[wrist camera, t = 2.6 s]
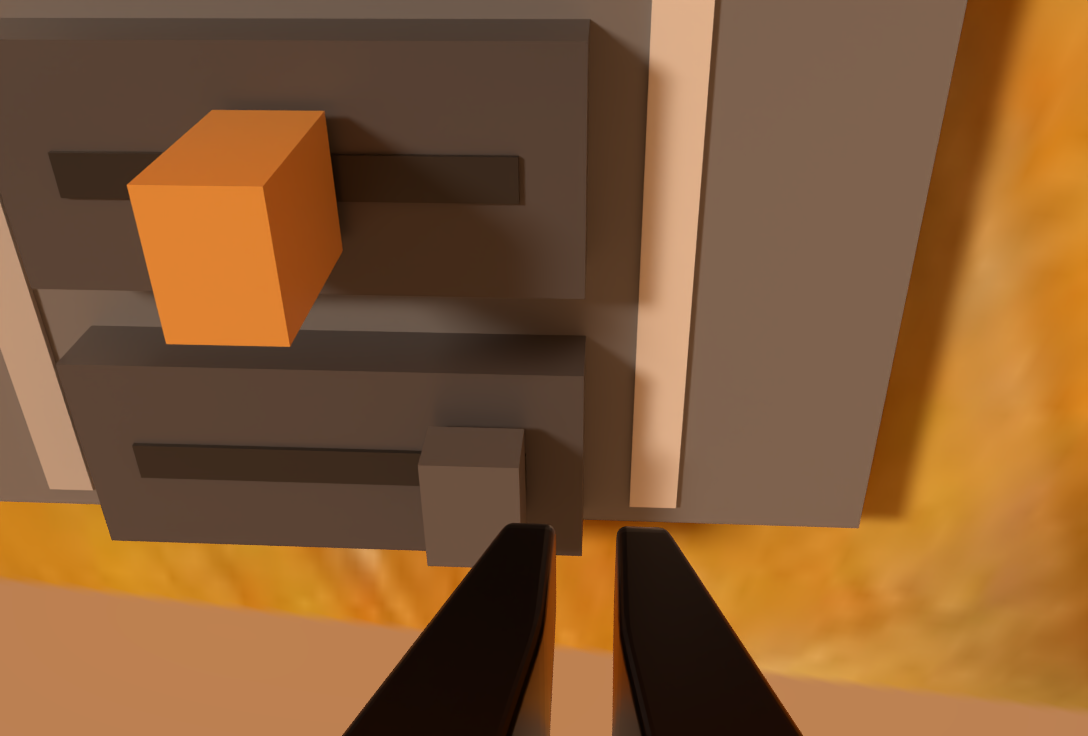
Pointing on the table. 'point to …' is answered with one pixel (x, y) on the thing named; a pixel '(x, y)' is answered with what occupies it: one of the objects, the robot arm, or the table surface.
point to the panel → (760, 260)
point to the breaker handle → (239, 227)
